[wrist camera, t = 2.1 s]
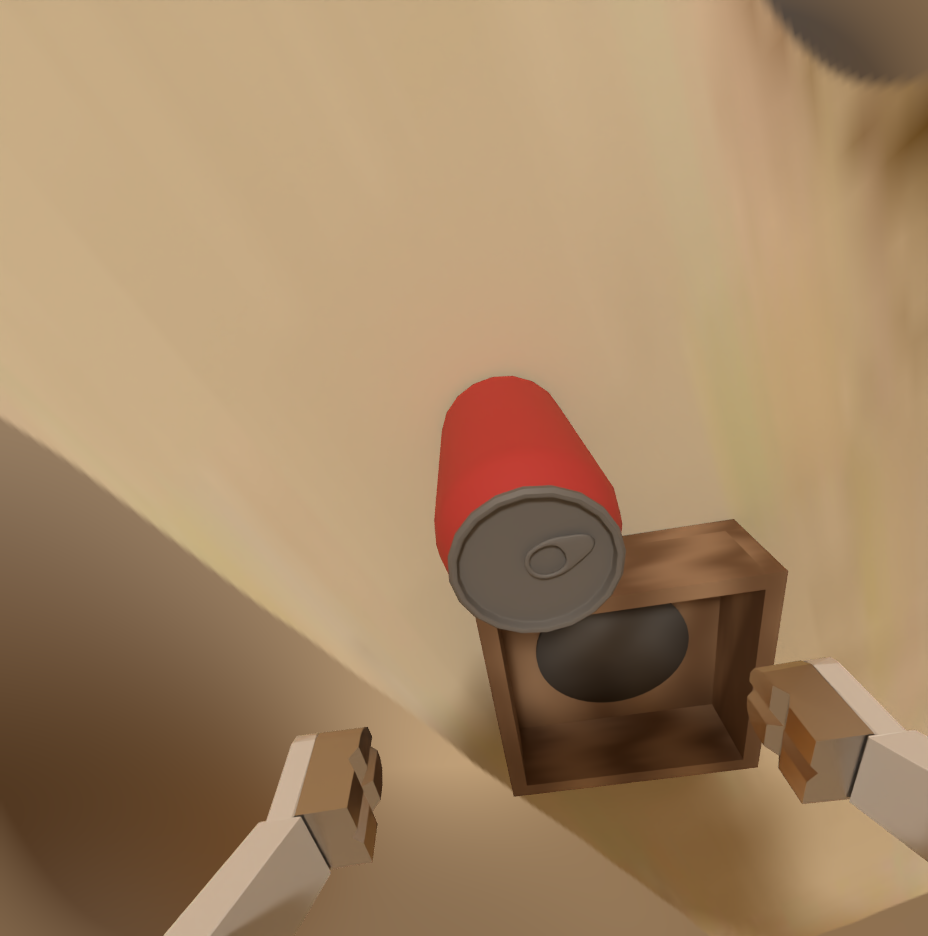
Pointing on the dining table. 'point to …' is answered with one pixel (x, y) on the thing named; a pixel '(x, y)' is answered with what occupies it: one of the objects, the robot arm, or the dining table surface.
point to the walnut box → (644, 668)
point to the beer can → (524, 511)
